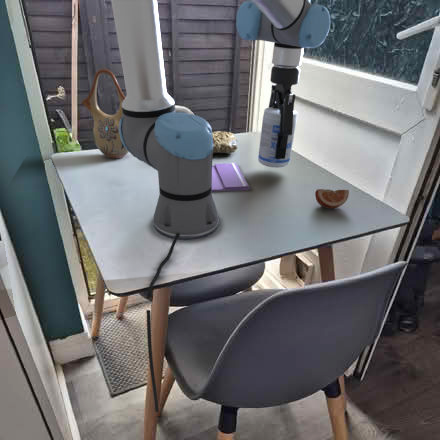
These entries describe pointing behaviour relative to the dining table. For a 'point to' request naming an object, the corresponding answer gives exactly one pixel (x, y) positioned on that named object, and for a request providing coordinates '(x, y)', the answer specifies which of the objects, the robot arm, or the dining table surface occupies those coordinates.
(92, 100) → the ceramic vessel
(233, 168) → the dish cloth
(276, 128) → the supplement tub
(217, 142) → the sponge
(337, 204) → the fruit slice
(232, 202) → the dining table surface
